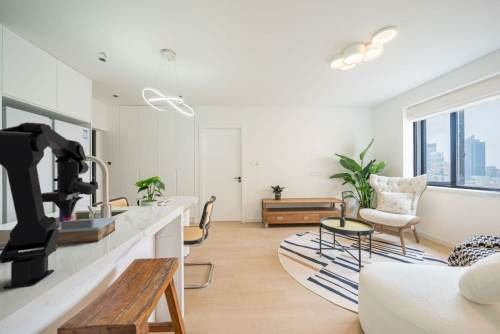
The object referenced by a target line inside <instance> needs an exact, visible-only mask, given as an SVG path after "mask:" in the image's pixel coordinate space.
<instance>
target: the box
mask: <svg viewBox="0 0 500 334" xmlns="http://www.w3.org/2000/svg"><path fill="white" fill-rule="evenodd" d="M114 231H116V220H115V221H113V222H111V223H110V224H108V225H106V226H104V227H103V228H101V229H99V230H86V231H72V232H59V236H58V242H57V246H64V245H75V244H77V245H78V244H88V243H98V242H100V241H102V240H103V239H105V238H106V237H107V236H109V235H110V234H112V233H113V232H114Z"/></svg>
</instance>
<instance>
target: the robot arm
mask: <svg viewBox="0 0 500 334" xmlns="http://www.w3.org/2000/svg"><path fill="white" fill-rule="evenodd" d="M47 148H49V149H51V153H52V154H53V155H54V156H55V158H56V159H55V160H54V162H55V163H56V172H57V173H56V178H53V182H56V189H53V191H48V192H42V189H41V185H40V178H39V172H38V165H39V163H40V162H41V160H43V158H44V157H45V150H46V149H47ZM86 160H87V157H86V152H85V150H84V147H83V145H82V144H81V143H80V142H79V141H77V140H71V139H68V138H65V137H64V136H63V135H61V134H60V133H58V132H57V131H55V130H53V129H52V127H51V126H50V125H49V124H46V123H40V122H21V123H20V124H18V125H16V126H11V127H6V128H2V129H0V166H2V167H3V168H4V169H5V171H6V175H7V180H8V185H9V188H10V193H11V198H12V203H13V208H14V212H15V217H16V222H17V223H16V224H15V225H14V226H13V228H12V229H11V230H10V232H9V239H8V241H7V243H6V245H5V247H4V248H3V250H2V251H1V252H0V264H1V265H2V264H6V263H10V265H11V266H10V282H7V283H6V284H4V285H3V286H2V289H9V288H11V289H12V288H17V287H18V288H19V287H26V286H34V285H36V284H38V283H39V282H40V281H42V280H44V279H45V278H46V277H48V276H49V275H51V274H53V273H54V272H55V269H49V256H50V255H52V254H53V253H55V251H57V247H58V245H57V242H58V236H59V231H58V230H57V229H58V226H57V220H56V218H55V216H47V215H46V213H45V207H44V203H54V205H56V207H57V208H58V210H59V209H60V210H61V212H62V213H63V214H64V216H65V217H66V218H67V217H71V215H72V212H73V210H74V207H75V208H76V205H77V203H78V202H79V201H80V200H81V199H83V198H84V196H80V195H87V196H89V195H95V193H96V191H97V190H98V189H99V183H98V181H95V180H91V181H90V182H88V181H87V182H85V181H83V178H82V177H80V175H84V174H86V173H87V172H88V171H89V169H90V167H89V165H88V163H87V162H85V161H86Z"/></svg>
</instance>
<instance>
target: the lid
mask: <svg viewBox="0 0 500 334" xmlns="http://www.w3.org/2000/svg"><path fill="white" fill-rule="evenodd" d="M117 219H118V218H117V217H103V218H102V217H99V218H84V219H83V218H82V219H75V220H69V221H63V222H61V227H60V228H59V227H57V230H58V231H59V232H72V231H86V230H99V229H101V228H103V227H104V226H106V225H108V224H110V223H111V222H113V221H115V222H116V220H117Z"/></svg>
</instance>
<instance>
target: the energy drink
mask: <svg viewBox="0 0 500 334" xmlns="http://www.w3.org/2000/svg"><path fill="white" fill-rule="evenodd" d="M69 220H76V206H75V207H74V210H73V212H72V215H71V217H67V218H66V217H65V216H64V214H63V213H62V212H61V210H60V209H59V208H58V228H60V227H61V222H63V221H69Z"/></svg>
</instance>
